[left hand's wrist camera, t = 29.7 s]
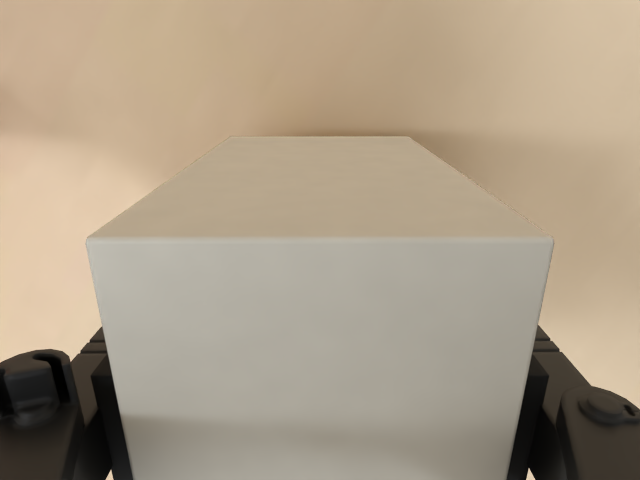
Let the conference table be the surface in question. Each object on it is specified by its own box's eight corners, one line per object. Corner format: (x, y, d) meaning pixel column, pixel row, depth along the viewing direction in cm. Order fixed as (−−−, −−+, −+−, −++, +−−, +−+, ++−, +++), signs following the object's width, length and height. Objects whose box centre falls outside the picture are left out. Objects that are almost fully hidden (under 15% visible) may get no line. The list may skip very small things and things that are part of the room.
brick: (409, 135, 16) (558, 237, 6) (396, 328, 19) (482, 612, 9) (229, 135, 16) (81, 237, 6) (243, 328, 19) (158, 613, 9)
